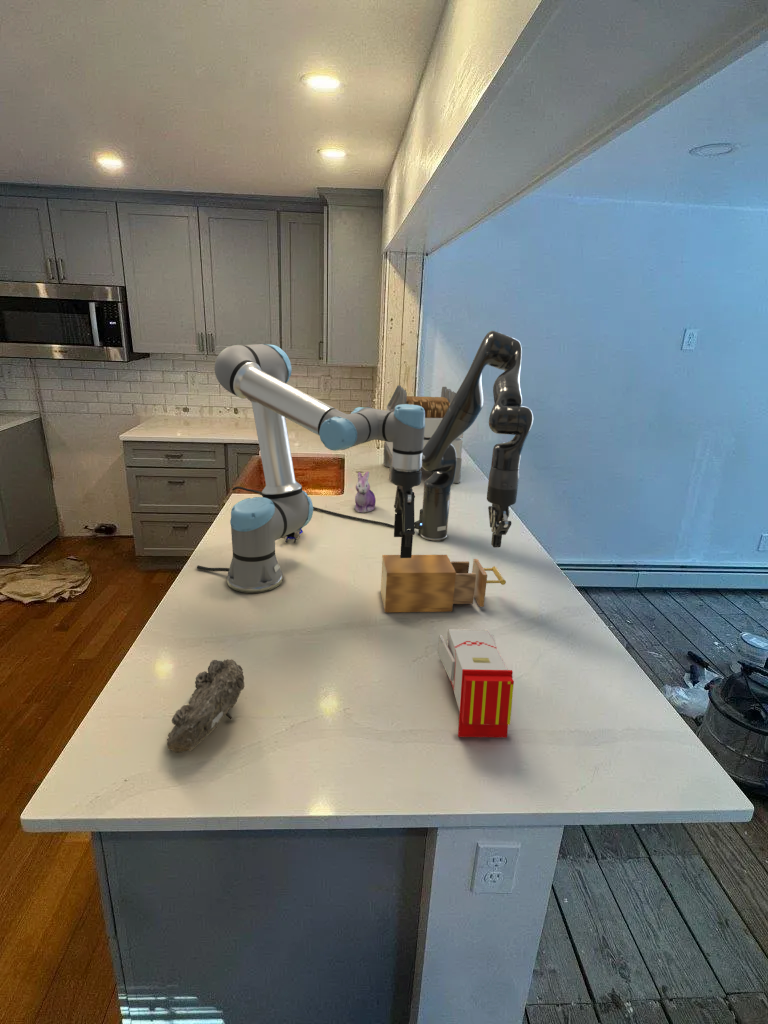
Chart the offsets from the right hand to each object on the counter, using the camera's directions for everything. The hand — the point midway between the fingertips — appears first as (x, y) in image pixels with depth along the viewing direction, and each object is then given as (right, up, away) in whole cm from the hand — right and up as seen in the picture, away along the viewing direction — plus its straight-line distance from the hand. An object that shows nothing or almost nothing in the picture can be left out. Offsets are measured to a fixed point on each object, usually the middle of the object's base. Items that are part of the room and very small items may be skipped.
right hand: (495, 546), depth 151 cm
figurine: (-37, +10, +72) cm, 81 cm away
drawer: (-9, -14, +4) cm, 18 cm away
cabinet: (-21, -15, +3) cm, 26 cm away
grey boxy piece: (-12, +28, +124) cm, 128 cm away
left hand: (-25, 0, -3) cm, 25 cm away
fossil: (-62, -30, -43) cm, 81 cm away
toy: (-12, -29, -32) cm, 45 cm away
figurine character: (-61, +1, +42) cm, 74 cm away
